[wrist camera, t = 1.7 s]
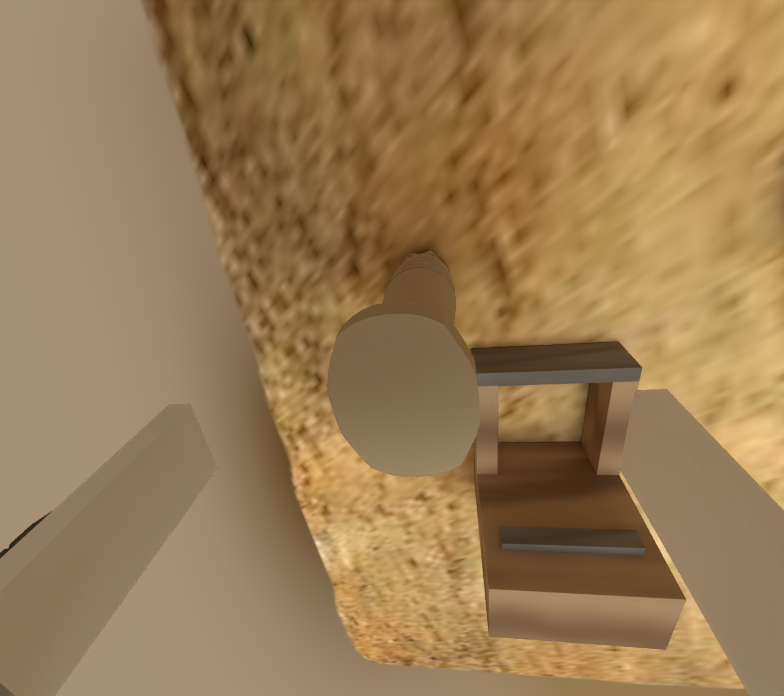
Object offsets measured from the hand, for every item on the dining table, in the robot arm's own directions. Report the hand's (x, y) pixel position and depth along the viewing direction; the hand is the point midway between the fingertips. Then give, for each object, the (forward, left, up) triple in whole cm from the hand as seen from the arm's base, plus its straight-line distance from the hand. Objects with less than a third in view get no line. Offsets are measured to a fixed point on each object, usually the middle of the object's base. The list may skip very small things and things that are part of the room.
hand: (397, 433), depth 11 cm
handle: (0, 0, -16) cm, 16 cm away
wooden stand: (+14, +8, -16) cm, 23 cm away
